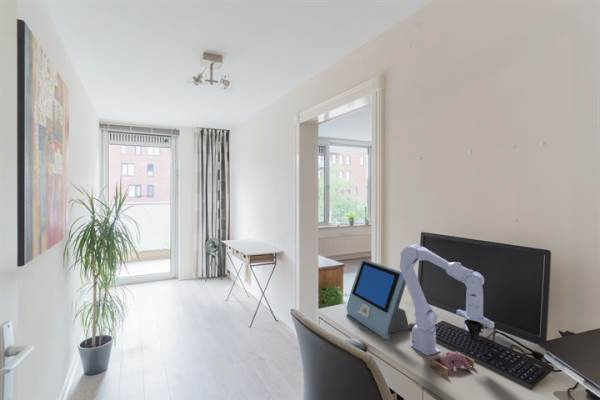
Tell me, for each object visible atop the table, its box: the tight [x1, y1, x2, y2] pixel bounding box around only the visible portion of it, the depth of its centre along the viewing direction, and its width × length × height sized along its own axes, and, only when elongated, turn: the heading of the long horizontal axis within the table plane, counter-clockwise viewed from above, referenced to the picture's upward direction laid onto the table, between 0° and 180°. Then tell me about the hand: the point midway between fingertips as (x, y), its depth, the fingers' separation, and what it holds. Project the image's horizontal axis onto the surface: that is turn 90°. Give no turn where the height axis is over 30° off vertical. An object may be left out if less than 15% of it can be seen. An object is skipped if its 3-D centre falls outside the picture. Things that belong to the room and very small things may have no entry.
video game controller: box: [439, 351, 472, 375], centre depth 119 cm, size 10×5×7 cm, turn 100°
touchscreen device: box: [346, 259, 410, 341], centre depth 161 cm, size 35×20×30 cm, turn 22°
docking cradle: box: [429, 351, 475, 378], centre depth 119 cm, size 7×15×3 cm, turn 115°
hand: (474, 339), depth 122 cm, fingers closed
